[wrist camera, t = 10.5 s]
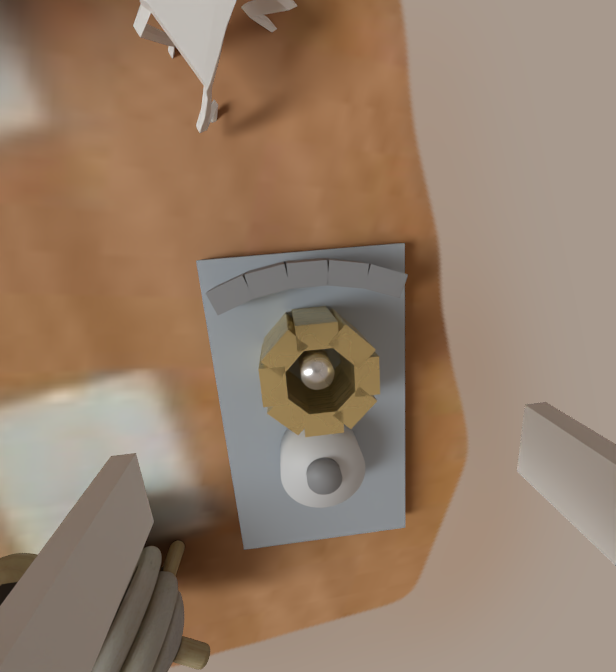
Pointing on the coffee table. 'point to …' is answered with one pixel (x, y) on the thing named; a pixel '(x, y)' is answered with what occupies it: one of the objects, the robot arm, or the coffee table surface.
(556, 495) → the robot arm
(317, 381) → the pin
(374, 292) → the carrier plate
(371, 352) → the gold octagonal ring
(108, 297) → the coffee table surface
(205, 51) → the origami figure
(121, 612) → the toy sheep
